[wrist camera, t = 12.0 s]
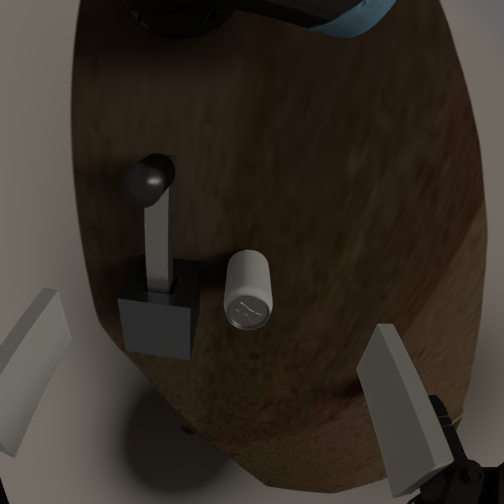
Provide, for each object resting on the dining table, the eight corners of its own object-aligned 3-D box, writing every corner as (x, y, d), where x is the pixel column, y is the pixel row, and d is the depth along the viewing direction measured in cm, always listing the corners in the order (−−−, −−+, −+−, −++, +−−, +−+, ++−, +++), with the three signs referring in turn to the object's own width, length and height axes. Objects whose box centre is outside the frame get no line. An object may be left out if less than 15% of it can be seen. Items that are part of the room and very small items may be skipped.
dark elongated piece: (147, 148, 36) (120, 164, 28) (181, 149, 36) (163, 166, 28) (151, 316, 48) (136, 357, 40) (177, 320, 48) (167, 361, 40)
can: (251, 289, 53) (252, 339, 42) (219, 269, 51) (212, 316, 40) (276, 263, 51) (283, 310, 40) (244, 240, 49) (243, 284, 38)
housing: (141, 255, 50) (117, 298, 39) (201, 261, 50) (190, 308, 40) (145, 303, 54) (126, 350, 44) (199, 310, 55) (190, 360, 44)
